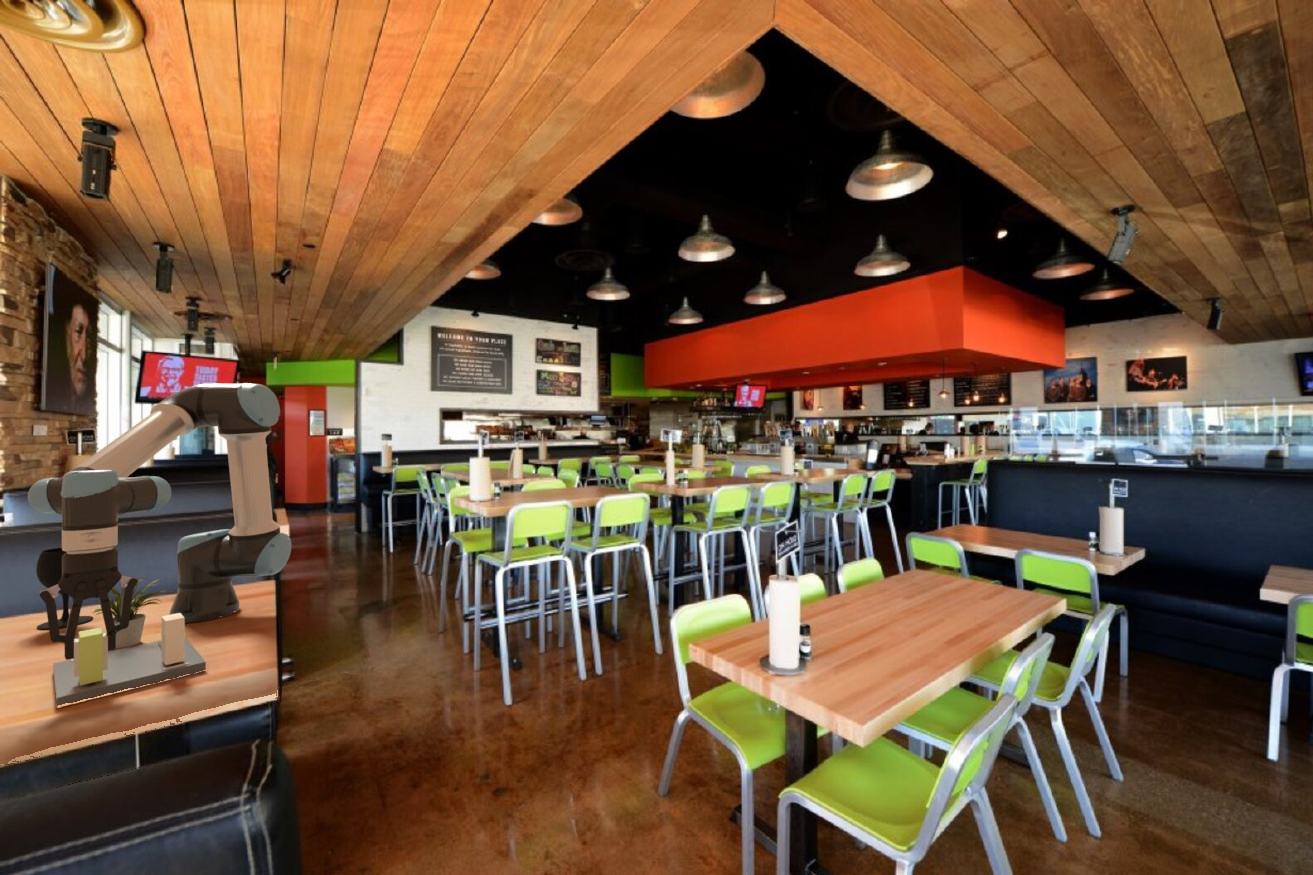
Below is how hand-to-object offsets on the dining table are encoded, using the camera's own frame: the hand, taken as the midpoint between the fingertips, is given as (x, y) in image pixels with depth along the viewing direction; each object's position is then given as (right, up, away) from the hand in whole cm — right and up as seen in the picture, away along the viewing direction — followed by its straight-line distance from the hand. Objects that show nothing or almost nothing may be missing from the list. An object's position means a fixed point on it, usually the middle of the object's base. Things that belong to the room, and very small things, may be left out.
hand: (90, 671), depth 105 cm
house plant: (-18, -5, +24) cm, 30 cm away
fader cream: (+8, -2, +9) cm, 12 cm away
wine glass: (-49, -5, +41) cm, 64 cm away
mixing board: (-1, -4, +9) cm, 10 cm away
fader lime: (0, -2, 0) cm, 2 cm away
